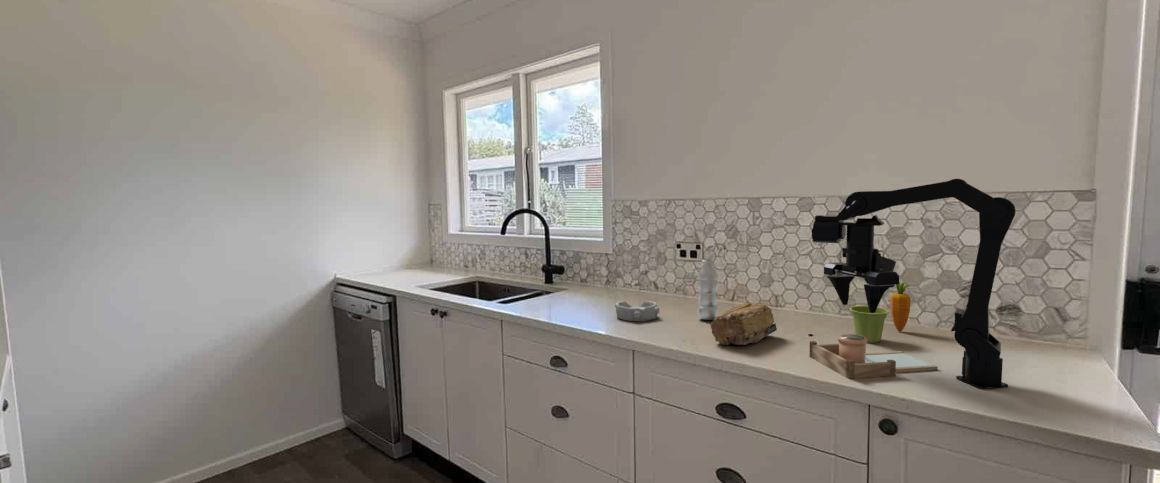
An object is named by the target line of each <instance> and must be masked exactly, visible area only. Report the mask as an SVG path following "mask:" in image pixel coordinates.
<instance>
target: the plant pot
mask: <svg viewBox="0 0 1160 483" xmlns="http://www.w3.org/2000/svg"><path fill="white" fill-rule="evenodd" d="M849 311H851V316H852V319H853V326H854V334H857V335H862V336H865V337H867V344H868V343H871V344H875V343H876V344H877V343H879V342H881V341H882V336H883V332H884V331H883V330H884V326H885V320H886V318H887V316H888V314H889V312H890V311H889V310H888V309H886V308H884V307H879V306H878V307H877V309H876V312H875V313H870V311H869V308H868V305H854V306H851V307H850V308H849Z"/></svg>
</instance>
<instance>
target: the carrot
mask: <svg viewBox="0 0 1160 483" xmlns="http://www.w3.org/2000/svg"><path fill="white" fill-rule="evenodd" d="M895 286H896V290H897V292H895V293H892V294H891V295H890V313H891V318H892V321H893V325H894V326H895V328H896V330H897V331H898V332H899V333H901V332H902V331H903V330H904V328H905V327H906V326H907V322H908V319H909V316H910V311H911V296H910V295H909V294H907V293H905V291H906V290H907V289H906V288H907V287H908V288H909V287H910V284H906V282H905V281H901V282H900V281H899V284H897V285H895Z"/></svg>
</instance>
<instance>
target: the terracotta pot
mask: <svg viewBox="0 0 1160 483" xmlns="http://www.w3.org/2000/svg"><path fill="white" fill-rule="evenodd" d="M837 342H838V344H839V356H840V357H842V358H844V359H846V360H850V359H851V360H853V361H855V364H859V363H866V360H865V355H866V353H867V352H866V351H867V350H866V349H867V348H866V347H867V346H866V345H867V344H868V342H867V337H865V336H862V335H857V334H855V333H840V334H838V335H837Z"/></svg>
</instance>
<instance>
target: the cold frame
mask: <svg viewBox="0 0 1160 483" xmlns="http://www.w3.org/2000/svg"><path fill="white" fill-rule="evenodd" d="M809 357H810V358H811V359H814V360H815V361H817V362H818V363H820V364H822V365H824V366H826V367H828V369H831V370H832V371H834V372H836V373H838V374H840V375H841V376H843V377H844V378H846V379H849V380H854V379H869V378H882V377H881V376H886V377H896V373H897V372H896V361H894V360H887V362H875V363H872V362H865V363H859V364H855V361H853V360H851V359H850V360H846V359H844V358H842V357H840V356H839V343H826V344H824V343H822V344H818V342H817V341H815V340H810V341H809Z"/></svg>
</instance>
